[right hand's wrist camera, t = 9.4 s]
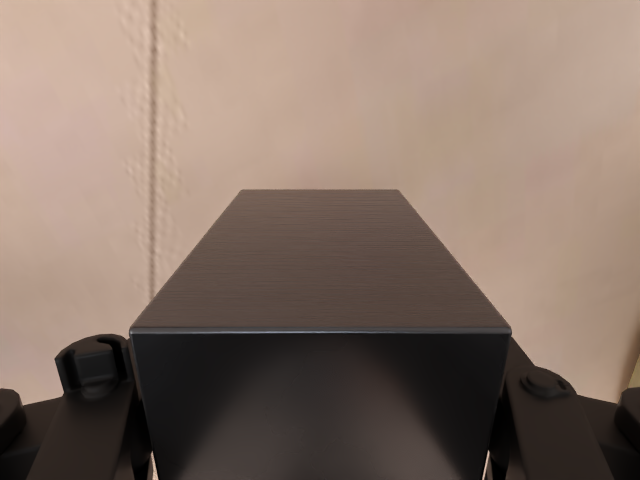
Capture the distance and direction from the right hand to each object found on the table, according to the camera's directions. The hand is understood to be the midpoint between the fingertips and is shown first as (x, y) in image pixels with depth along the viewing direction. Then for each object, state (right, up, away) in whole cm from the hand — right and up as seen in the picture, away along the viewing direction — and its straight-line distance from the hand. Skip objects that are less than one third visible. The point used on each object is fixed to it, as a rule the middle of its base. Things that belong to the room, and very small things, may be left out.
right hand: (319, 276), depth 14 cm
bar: (0, -9, +4) cm, 10 cm away
